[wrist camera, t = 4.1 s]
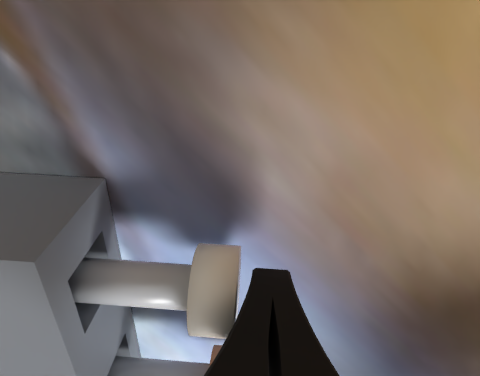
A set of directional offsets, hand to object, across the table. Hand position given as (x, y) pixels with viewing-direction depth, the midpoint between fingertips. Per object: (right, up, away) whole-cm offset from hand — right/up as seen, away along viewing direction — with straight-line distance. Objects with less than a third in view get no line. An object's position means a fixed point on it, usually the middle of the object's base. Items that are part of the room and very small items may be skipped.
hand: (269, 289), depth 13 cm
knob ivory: (-4, +1, +1) cm, 5 cm away
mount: (-9, -1, +4) cm, 10 cm away
